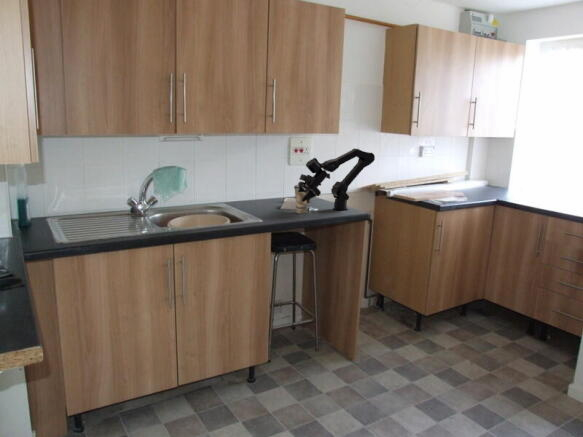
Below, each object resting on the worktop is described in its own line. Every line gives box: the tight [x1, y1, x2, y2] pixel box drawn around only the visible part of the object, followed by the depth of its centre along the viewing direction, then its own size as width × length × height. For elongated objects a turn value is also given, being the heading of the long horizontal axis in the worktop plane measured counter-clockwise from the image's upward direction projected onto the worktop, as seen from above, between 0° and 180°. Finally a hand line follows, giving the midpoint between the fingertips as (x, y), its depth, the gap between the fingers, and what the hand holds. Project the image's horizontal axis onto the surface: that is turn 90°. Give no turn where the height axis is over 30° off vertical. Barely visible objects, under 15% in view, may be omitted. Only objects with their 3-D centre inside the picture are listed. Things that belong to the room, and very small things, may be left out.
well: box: [280, 197, 296, 211], centre depth 279 cm, size 12×12×4 cm
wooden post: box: [295, 192, 308, 214], centre depth 265 cm, size 5×5×11 cm
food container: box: [293, 184, 312, 204], centre depth 298 cm, size 12×6×10 cm, turn 66°
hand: (298, 199), depth 264 cm, fingers open, 8 cm apart
